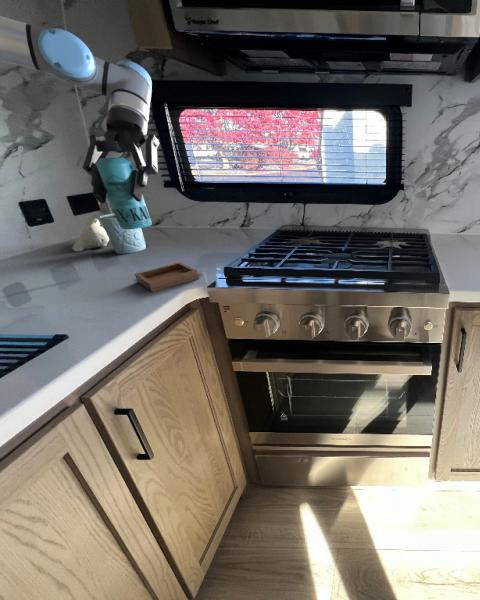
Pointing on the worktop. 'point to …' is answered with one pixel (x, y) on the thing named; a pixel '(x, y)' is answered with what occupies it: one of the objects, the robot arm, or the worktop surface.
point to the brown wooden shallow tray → (166, 276)
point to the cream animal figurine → (92, 237)
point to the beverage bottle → (121, 188)
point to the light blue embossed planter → (123, 236)
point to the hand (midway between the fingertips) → (117, 198)
